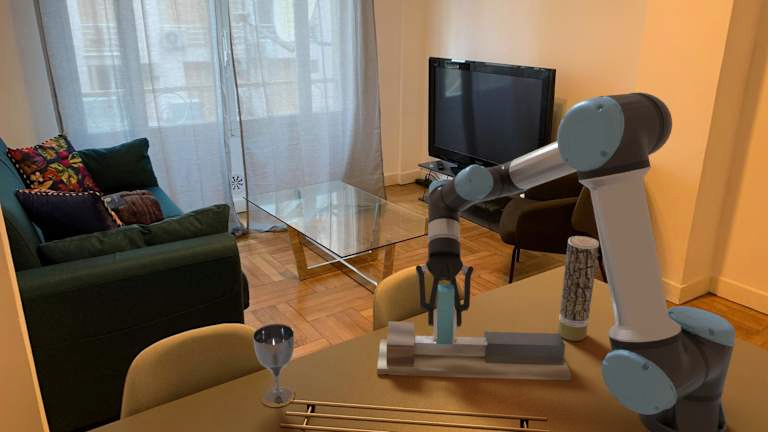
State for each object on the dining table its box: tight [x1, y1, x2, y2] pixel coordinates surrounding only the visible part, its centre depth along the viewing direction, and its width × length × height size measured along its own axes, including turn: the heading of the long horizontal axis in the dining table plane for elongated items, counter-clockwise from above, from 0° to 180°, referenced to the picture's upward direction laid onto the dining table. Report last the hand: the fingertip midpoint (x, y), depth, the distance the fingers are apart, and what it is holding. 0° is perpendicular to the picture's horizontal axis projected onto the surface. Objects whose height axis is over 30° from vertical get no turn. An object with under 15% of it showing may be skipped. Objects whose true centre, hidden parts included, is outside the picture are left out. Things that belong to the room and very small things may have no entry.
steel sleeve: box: [483, 331, 566, 365], centre depth 129 cm, size 5×17×5 cm, turn 87°
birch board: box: [376, 338, 572, 381], centre depth 131 cm, size 12×42×2 cm, turn 87°
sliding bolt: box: [414, 284, 486, 356], centre depth 128 cm, size 4×27×16 cm, turn 87°
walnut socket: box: [386, 321, 415, 367], centre depth 130 cm, size 10×6×6 cm, turn 177°
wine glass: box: [252, 323, 295, 404], centre depth 116 cm, size 8×8×15 cm
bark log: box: [557, 235, 600, 342], centre depth 138 cm, size 7×7×25 cm
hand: (444, 340), depth 125 cm, fingers closed on sliding bolt, 4 cm apart
